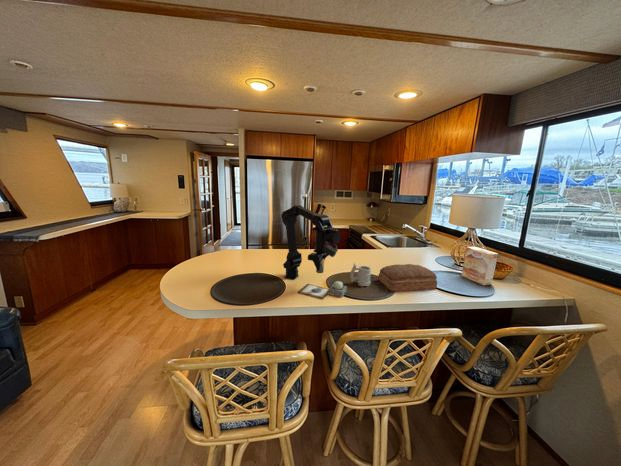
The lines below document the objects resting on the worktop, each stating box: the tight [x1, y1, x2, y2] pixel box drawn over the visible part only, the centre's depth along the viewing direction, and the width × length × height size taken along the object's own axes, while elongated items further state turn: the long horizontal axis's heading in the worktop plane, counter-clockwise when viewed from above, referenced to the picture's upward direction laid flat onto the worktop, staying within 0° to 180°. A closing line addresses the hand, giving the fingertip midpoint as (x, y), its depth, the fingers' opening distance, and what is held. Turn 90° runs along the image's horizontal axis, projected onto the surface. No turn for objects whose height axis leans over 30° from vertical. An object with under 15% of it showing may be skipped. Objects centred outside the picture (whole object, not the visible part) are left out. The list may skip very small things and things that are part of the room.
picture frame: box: [297, 283, 329, 300], centre depth 126 cm, size 14×11×1 cm
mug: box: [349, 263, 372, 287], centre depth 137 cm, size 8×12×12 cm, turn 87°
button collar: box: [328, 283, 348, 298], centre depth 126 cm, size 7×7×3 cm
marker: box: [315, 259, 325, 274], centre depth 125 cm, size 4×4×7 cm
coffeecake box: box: [460, 246, 499, 286], centre depth 148 cm, size 15×7×20 cm, turn 18°
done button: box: [333, 280, 344, 290], centre depth 125 cm, size 4×4×4 cm
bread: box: [377, 263, 438, 292], centre depth 139 cm, size 17×29×11 cm, turn 101°
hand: (319, 269), depth 126 cm, fingers closed on marker, 4 cm apart
